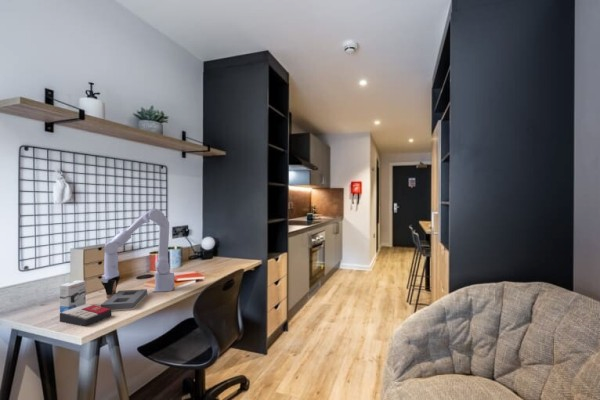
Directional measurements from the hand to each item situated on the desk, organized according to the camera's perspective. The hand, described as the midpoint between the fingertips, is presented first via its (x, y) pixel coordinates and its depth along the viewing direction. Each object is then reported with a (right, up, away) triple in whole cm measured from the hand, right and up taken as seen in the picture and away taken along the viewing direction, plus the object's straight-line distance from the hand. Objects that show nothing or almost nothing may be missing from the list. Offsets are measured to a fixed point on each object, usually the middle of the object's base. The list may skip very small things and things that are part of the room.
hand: (111, 293), depth 148 cm
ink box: (-7, -2, -16) cm, 17 cm away
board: (+12, -2, -8) cm, 14 cm away
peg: (0, -2, 0) cm, 2 cm away
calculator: (+6, -3, -26) cm, 27 cm away
